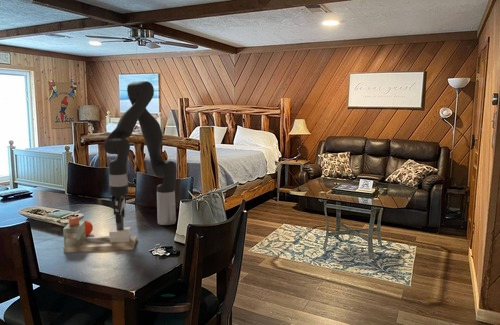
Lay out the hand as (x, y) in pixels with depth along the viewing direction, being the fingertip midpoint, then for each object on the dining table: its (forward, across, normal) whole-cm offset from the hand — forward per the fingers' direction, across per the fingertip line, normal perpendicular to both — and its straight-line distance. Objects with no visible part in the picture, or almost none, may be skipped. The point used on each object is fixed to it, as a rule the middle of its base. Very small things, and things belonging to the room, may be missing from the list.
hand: (120, 220), depth 168 cm
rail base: (+11, 0, +8) cm, 14 cm away
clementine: (+12, +16, +19) cm, 27 cm away
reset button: (+2, 0, +19) cm, 19 cm away
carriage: (+9, 0, 0) cm, 9 cm away
